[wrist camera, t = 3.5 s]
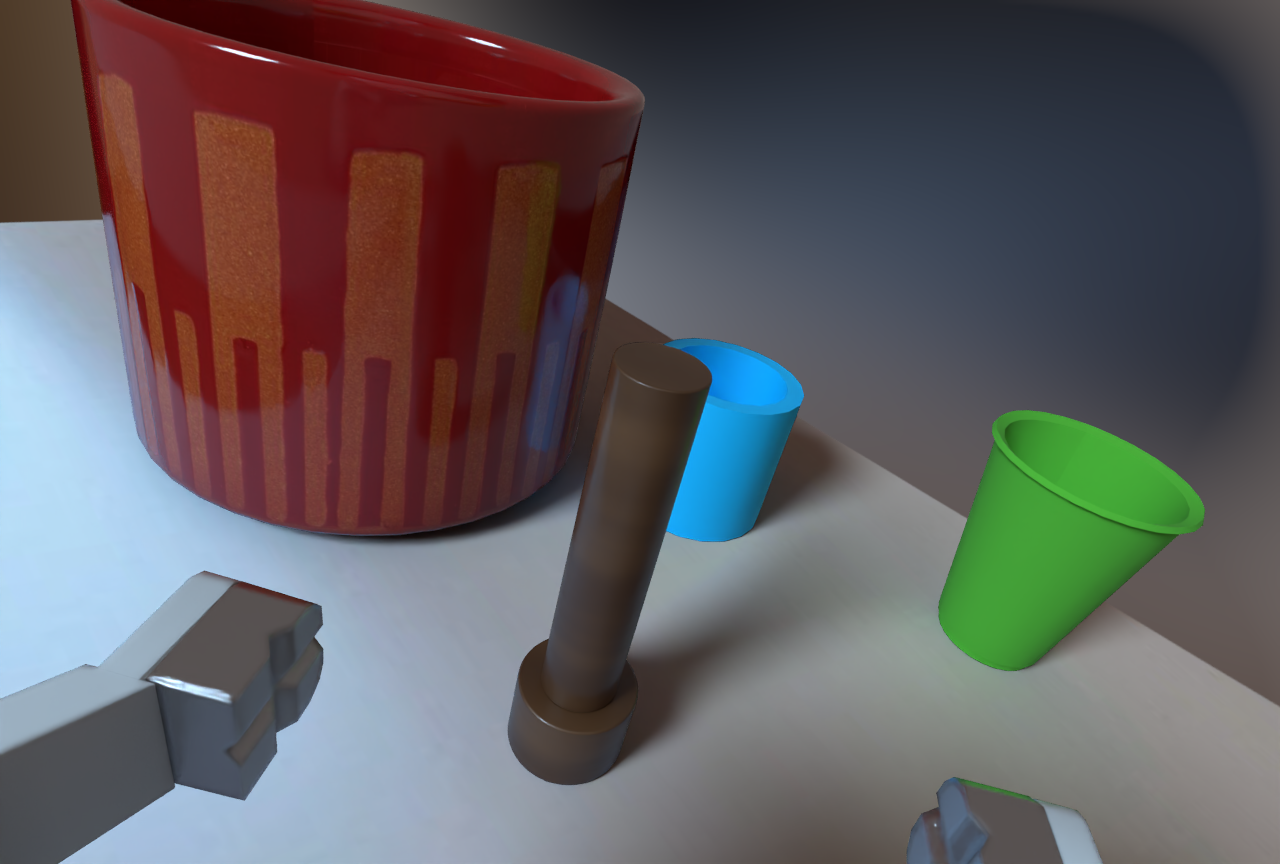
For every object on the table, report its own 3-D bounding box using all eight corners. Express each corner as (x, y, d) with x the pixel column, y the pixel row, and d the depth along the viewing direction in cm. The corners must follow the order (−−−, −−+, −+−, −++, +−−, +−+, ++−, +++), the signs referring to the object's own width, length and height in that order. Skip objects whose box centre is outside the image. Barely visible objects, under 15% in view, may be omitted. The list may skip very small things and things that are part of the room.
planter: (204, 622, 29) (138, 57, 19) (98, 350, 43) (26, -63, 32) (649, 486, 43) (751, 125, 33) (463, 315, 57) (494, 22, 47)
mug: (691, 560, 39) (736, 429, 34) (594, 474, 43) (622, 349, 39) (821, 497, 46) (871, 384, 42) (727, 430, 51) (763, 322, 47)
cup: (888, 648, 36) (992, 466, 31) (910, 550, 44) (996, 389, 38) (1080, 739, 34) (1230, 561, 28) (1068, 620, 41) (1185, 459, 36)
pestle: (612, 799, 27) (740, 425, 18) (492, 768, 26) (567, 380, 18) (628, 699, 30) (742, 353, 22) (524, 672, 30) (598, 315, 22)
